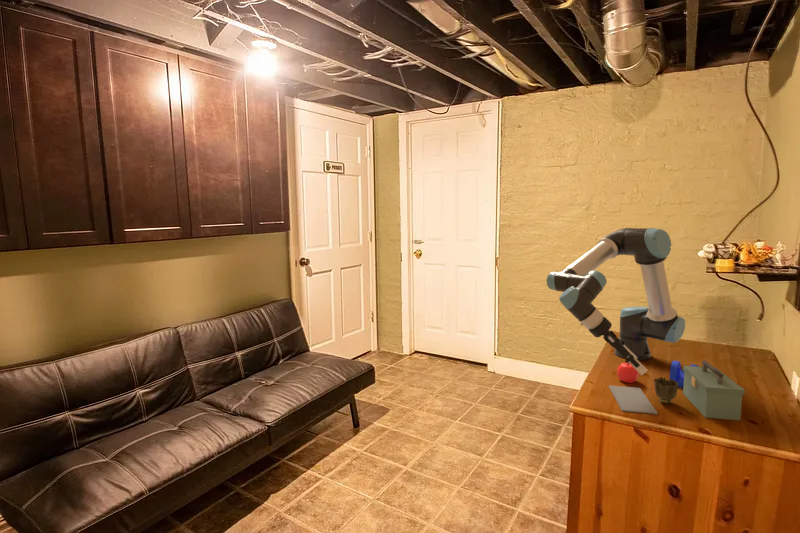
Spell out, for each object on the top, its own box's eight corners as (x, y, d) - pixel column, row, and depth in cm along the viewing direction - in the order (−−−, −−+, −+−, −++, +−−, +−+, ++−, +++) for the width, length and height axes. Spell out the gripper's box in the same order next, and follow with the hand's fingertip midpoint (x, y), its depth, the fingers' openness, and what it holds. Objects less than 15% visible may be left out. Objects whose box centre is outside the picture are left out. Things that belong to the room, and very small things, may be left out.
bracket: (694, 390, 168) (695, 368, 167) (669, 385, 174) (670, 363, 173) (704, 377, 181) (705, 356, 179) (680, 372, 186) (682, 352, 185)
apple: (629, 386, 173) (630, 366, 172) (612, 379, 180) (612, 360, 179) (643, 382, 176) (644, 363, 175) (625, 376, 183) (626, 357, 182)
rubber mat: (608, 386, 173) (608, 385, 172) (639, 389, 170) (639, 387, 170) (621, 411, 151) (622, 409, 151) (657, 414, 149) (657, 413, 149)
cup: (679, 401, 158) (680, 380, 157) (674, 408, 153) (676, 386, 152) (655, 396, 163) (656, 375, 162) (650, 402, 158) (652, 381, 157)
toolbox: (680, 392, 166) (683, 356, 164) (714, 395, 163) (717, 358, 161) (703, 417, 146) (706, 376, 144) (742, 421, 143) (745, 378, 141)
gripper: (582, 321, 173) (622, 361, 171) (593, 339, 149) (640, 385, 147) (598, 308, 171) (638, 348, 169) (611, 324, 147) (658, 371, 145)
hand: (639, 366), depth 158 cm, fingers open, 13 cm apart
